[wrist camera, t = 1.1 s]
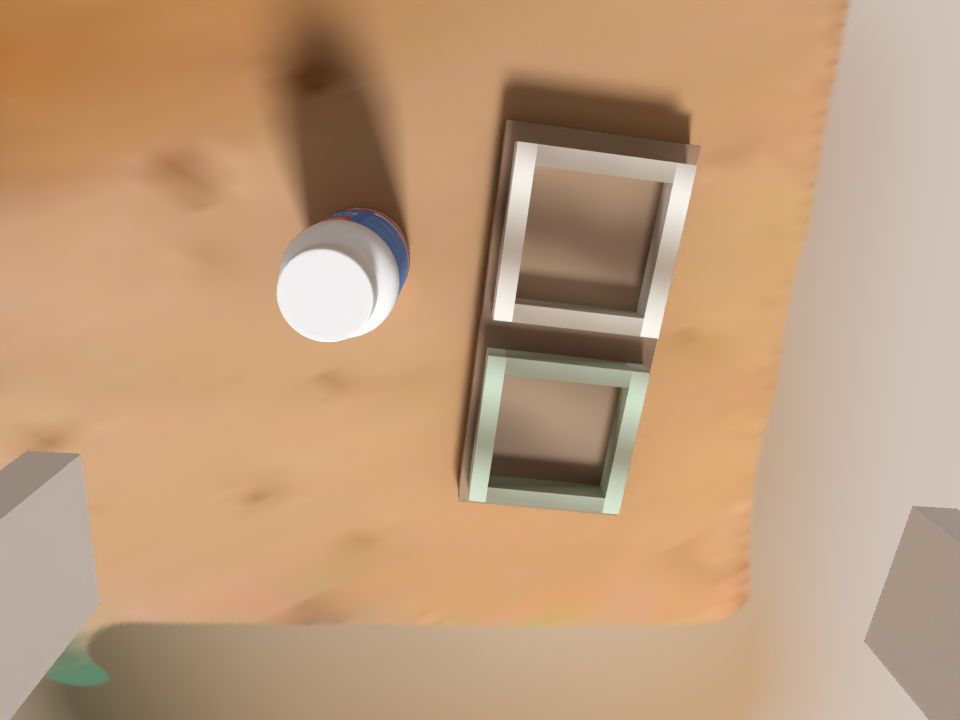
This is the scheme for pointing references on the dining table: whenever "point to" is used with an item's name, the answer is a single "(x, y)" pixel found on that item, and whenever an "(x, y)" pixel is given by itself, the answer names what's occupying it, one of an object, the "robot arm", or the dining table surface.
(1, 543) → the robot arm
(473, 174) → the dining table surface
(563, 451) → the board
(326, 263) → the pill bottle
